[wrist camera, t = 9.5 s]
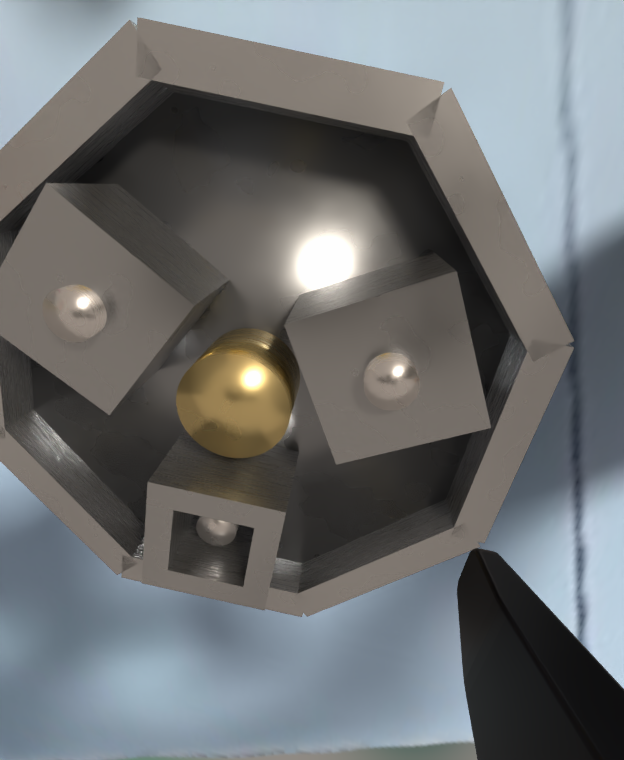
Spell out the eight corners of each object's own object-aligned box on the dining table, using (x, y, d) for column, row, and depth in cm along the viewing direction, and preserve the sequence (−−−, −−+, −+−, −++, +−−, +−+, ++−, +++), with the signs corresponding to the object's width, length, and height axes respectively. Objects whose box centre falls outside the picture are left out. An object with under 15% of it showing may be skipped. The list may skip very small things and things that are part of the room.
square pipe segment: (299, 451, 20) (285, 512, 16) (280, 538, 22) (264, 610, 18) (186, 426, 20) (147, 481, 16) (178, 515, 22) (141, 583, 18)
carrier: (629, 132, 15) (780, 102, 10) (431, 598, 24) (452, 716, 18) (-18, -5, 15) (-222, -109, 10) (25, 509, 24) (-70, 601, 19)
